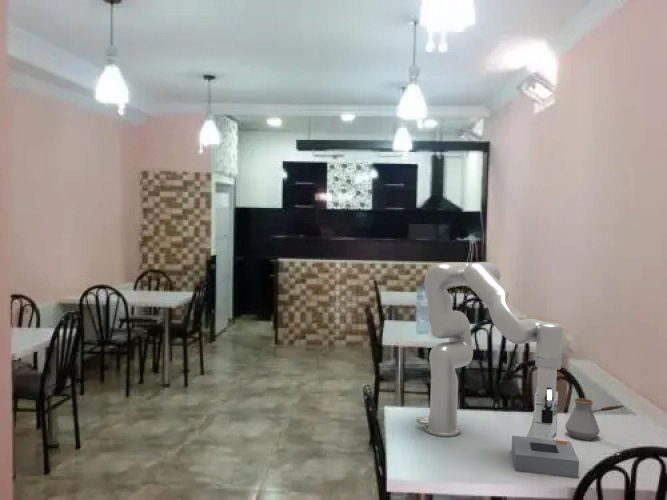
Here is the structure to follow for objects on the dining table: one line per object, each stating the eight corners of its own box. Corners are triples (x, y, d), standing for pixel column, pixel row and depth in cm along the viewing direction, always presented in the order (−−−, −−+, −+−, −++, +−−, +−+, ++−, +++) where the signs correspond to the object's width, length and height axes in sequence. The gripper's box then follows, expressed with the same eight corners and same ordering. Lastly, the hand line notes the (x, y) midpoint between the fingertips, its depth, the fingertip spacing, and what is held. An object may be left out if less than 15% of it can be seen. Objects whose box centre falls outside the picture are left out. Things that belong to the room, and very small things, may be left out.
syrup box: (552, 441, 196) (554, 394, 196) (532, 437, 199) (534, 391, 199) (556, 436, 201) (558, 390, 200) (537, 432, 204) (539, 387, 204)
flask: (548, 445, 218) (549, 416, 217) (526, 443, 219) (527, 414, 219) (546, 438, 225) (547, 410, 224) (524, 436, 226) (525, 408, 226)
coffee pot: (557, 433, 231) (560, 392, 230) (578, 429, 237) (580, 389, 236) (611, 452, 213) (613, 408, 212) (632, 447, 219) (634, 403, 218)
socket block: (515, 470, 194) (516, 451, 193) (511, 450, 211) (512, 432, 211) (578, 477, 190) (579, 457, 190) (569, 456, 207) (570, 438, 207)
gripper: (532, 356, 209) (530, 410, 209) (538, 367, 192) (535, 426, 192) (557, 358, 207) (554, 412, 208) (564, 369, 190) (561, 428, 191)
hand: (545, 418), depth 200 cm, fingers closed on syrup box, 7 cm apart
